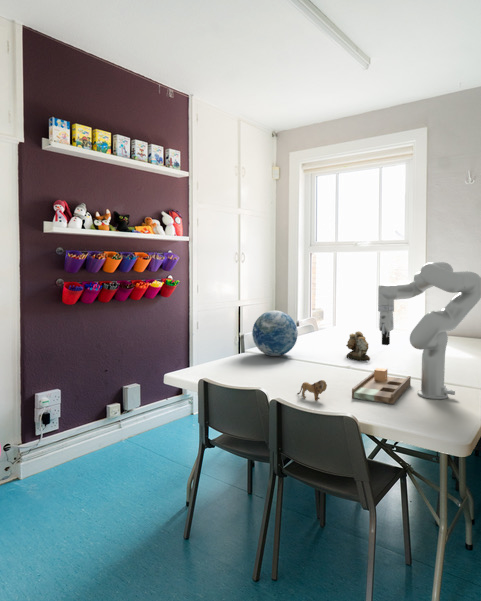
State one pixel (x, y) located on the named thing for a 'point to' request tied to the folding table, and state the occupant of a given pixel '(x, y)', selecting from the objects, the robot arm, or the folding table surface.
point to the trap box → (381, 389)
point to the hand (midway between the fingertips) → (385, 344)
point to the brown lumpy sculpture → (357, 347)
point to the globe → (275, 333)
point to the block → (380, 374)
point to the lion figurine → (314, 388)
